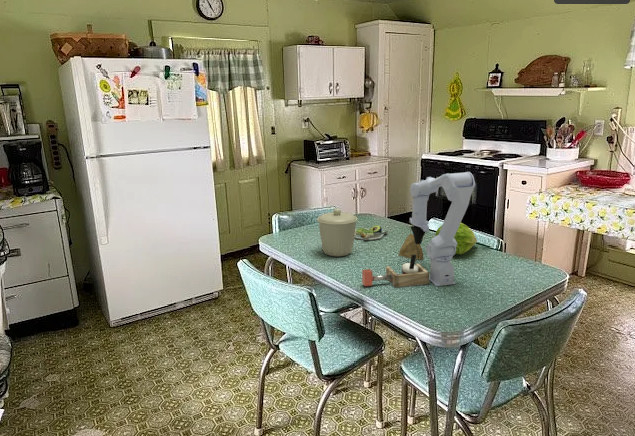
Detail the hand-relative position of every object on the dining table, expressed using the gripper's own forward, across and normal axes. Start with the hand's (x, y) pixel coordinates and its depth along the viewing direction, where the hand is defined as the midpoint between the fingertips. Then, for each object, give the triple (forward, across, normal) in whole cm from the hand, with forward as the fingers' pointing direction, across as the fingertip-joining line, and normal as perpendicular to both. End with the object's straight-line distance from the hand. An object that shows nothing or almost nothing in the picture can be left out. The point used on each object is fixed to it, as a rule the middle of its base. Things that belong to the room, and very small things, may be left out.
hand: (418, 243), depth 189 cm
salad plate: (+10, +47, +6) cm, 49 cm away
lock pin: (+9, -14, +23) cm, 28 cm away
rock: (+10, +11, -2) cm, 15 cm away
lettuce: (+10, +12, -25) cm, 30 cm away
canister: (+10, +25, +28) cm, 39 cm away
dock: (+10, -12, +10) cm, 19 cm away
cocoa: (+10, -13, +9) cm, 18 cm away
